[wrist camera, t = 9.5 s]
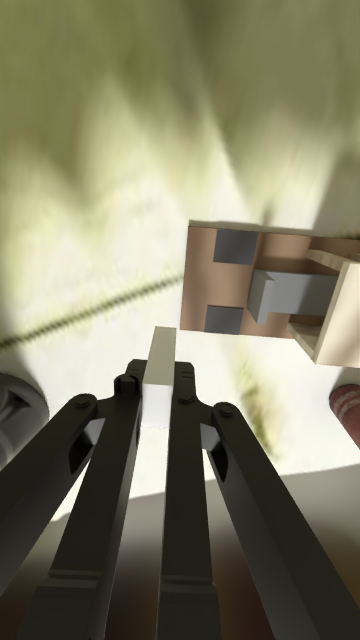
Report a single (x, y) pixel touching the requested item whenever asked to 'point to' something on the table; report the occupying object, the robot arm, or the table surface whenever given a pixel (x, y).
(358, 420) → the can
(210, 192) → the table surface
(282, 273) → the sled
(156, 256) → the table surface
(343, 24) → the table surface
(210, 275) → the tunnel board
